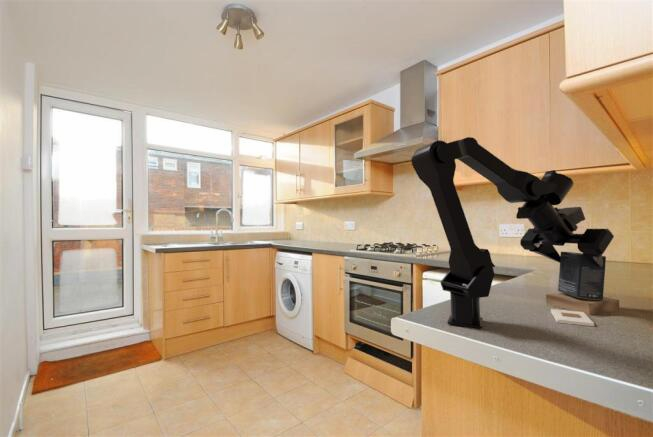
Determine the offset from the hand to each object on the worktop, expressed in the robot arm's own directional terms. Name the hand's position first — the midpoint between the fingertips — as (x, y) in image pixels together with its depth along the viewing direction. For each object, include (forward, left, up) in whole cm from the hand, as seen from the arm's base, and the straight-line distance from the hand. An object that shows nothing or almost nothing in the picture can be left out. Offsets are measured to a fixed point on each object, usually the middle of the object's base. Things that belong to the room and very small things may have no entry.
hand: (579, 263), depth 75 cm
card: (-12, +4, -11) cm, 17 cm away
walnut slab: (0, 0, -11) cm, 11 cm away
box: (0, 0, -8) cm, 8 cm away
